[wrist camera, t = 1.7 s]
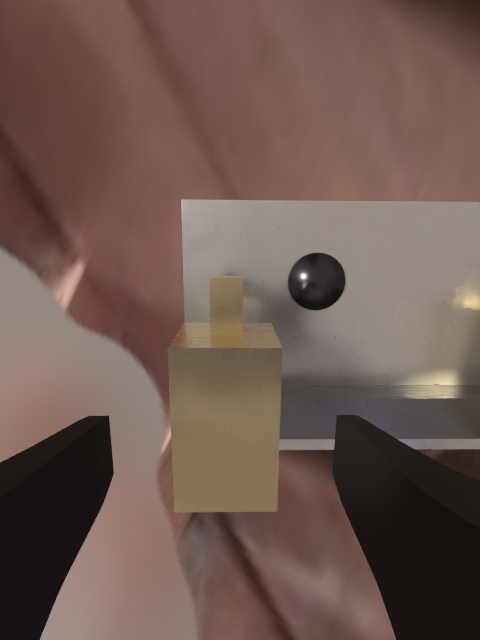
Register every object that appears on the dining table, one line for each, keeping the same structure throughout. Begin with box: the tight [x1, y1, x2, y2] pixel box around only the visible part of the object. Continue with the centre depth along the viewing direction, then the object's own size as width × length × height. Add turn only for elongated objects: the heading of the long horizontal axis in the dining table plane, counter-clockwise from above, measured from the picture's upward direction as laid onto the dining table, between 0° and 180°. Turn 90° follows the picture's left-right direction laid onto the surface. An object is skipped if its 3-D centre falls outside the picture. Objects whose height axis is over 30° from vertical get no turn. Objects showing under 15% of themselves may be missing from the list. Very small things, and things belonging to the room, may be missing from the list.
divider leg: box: [168, 273, 282, 512], centre depth 14 cm, size 8×4×5 cm, turn 0°
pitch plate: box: [181, 200, 480, 450], centre depth 15 cm, size 12×20×7 cm, turn 90°
